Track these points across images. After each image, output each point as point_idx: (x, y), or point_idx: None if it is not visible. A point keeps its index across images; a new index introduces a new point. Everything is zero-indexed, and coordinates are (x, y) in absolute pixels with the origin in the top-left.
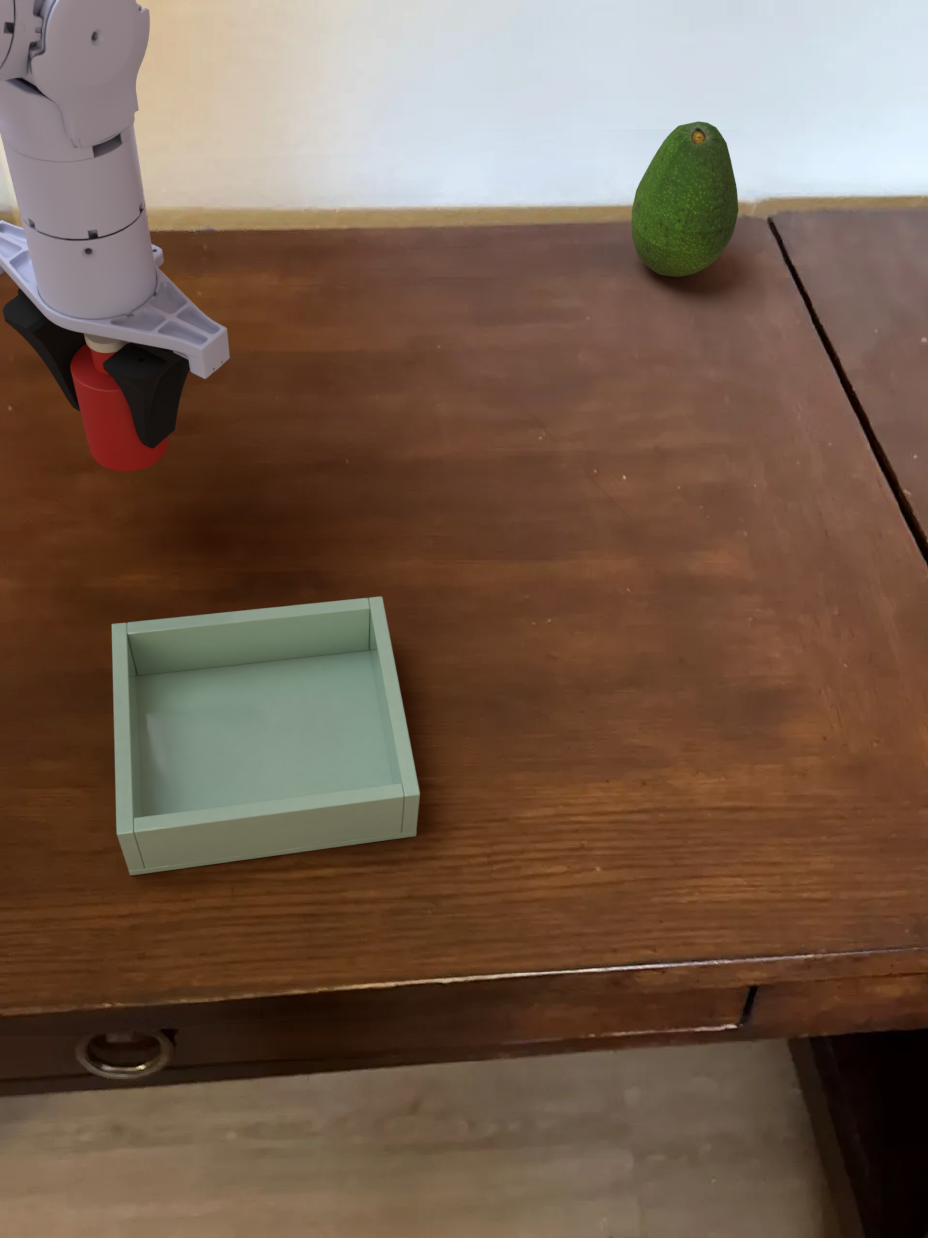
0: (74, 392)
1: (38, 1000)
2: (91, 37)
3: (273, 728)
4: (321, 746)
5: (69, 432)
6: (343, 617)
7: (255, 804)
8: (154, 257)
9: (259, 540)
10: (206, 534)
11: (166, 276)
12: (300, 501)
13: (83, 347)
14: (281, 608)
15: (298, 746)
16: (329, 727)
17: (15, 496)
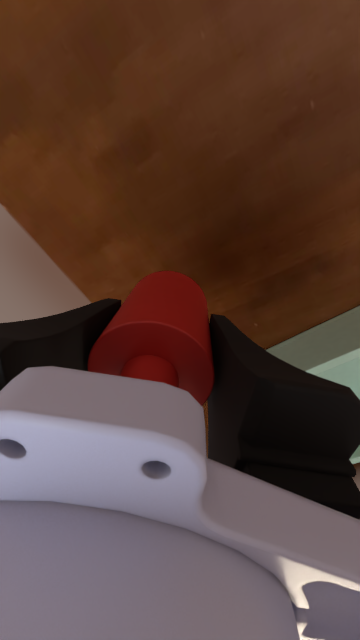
0: None
1: None
2: None
3: (323, 376)
4: (354, 376)
5: (62, 209)
6: None
7: (355, 459)
8: (189, 503)
9: (262, 247)
10: (220, 259)
11: (309, 560)
12: (281, 188)
13: (91, 368)
14: (339, 358)
15: (340, 380)
16: (357, 366)
17: (81, 287)
